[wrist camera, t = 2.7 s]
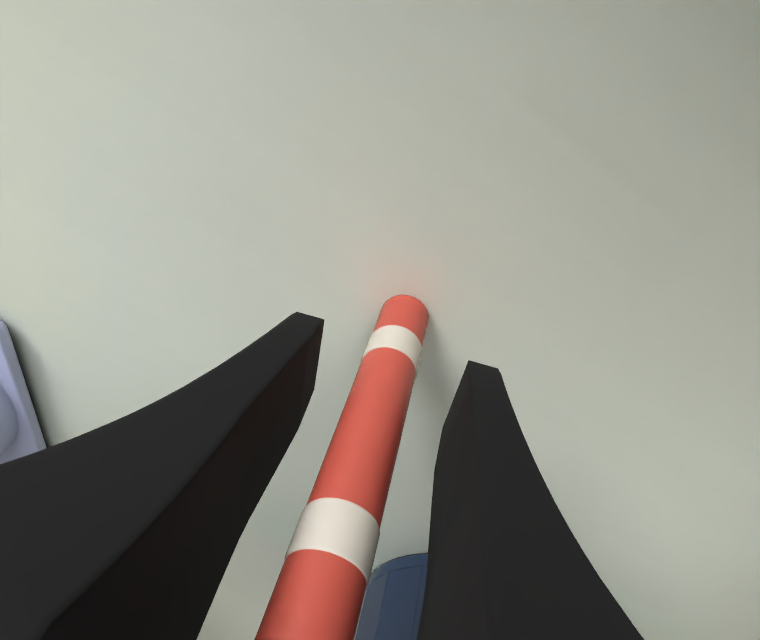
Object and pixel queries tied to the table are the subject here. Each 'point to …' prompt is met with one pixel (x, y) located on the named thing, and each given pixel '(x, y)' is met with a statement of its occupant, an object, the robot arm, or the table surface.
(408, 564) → the cup
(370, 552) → the baton
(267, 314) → the table surface
